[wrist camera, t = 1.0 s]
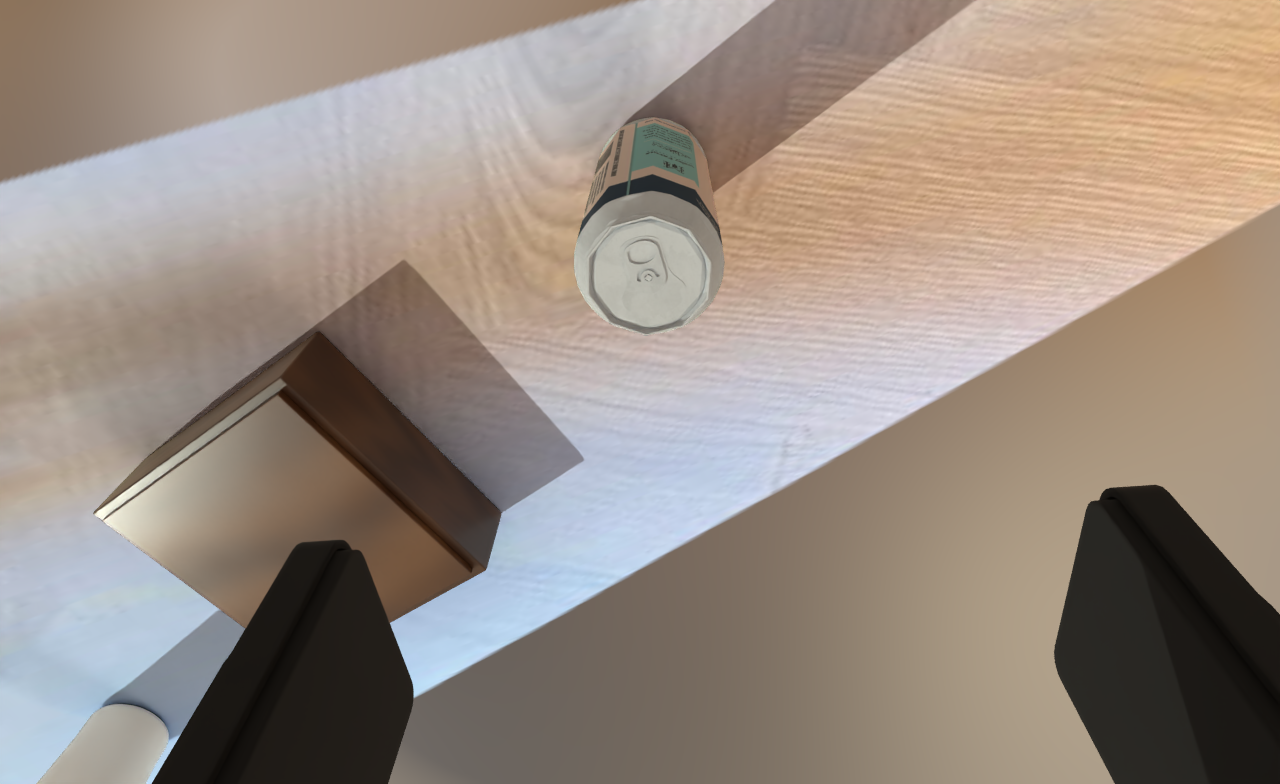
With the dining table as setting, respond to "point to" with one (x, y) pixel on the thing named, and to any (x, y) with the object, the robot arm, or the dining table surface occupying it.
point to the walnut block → (304, 490)
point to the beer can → (650, 230)
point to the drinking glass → (112, 748)
